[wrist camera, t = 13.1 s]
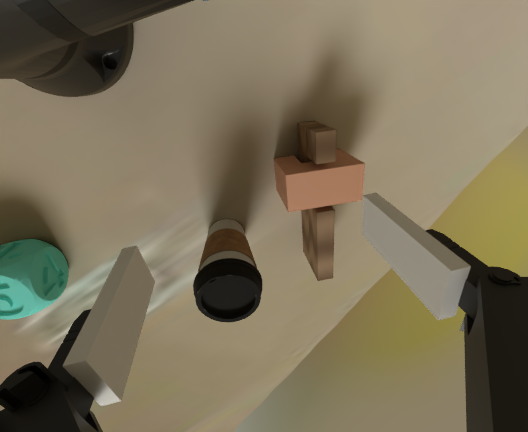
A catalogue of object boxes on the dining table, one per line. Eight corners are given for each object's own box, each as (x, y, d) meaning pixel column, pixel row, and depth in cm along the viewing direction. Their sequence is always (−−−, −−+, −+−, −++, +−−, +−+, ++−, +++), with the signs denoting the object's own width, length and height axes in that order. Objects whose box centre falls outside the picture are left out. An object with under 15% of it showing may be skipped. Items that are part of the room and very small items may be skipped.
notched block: (276, 189, 41) (288, 212, 34) (273, 158, 39) (285, 175, 32) (338, 180, 42) (362, 200, 35) (339, 148, 40) (364, 163, 33)
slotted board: (297, 123, 37) (315, 132, 30) (314, 120, 37) (336, 129, 30) (303, 251, 47) (317, 280, 40) (316, 248, 47) (333, 278, 40)
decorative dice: (54, 234, 39) (18, 268, 32) (75, 276, 43) (47, 315, 36) (-4, 242, 38) (-55, 278, 31) (22, 284, 42) (-18, 324, 35)
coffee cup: (236, 202, 41) (244, 260, 28) (260, 242, 45) (277, 308, 32) (189, 226, 42) (175, 293, 29) (217, 263, 46) (216, 337, 32)
